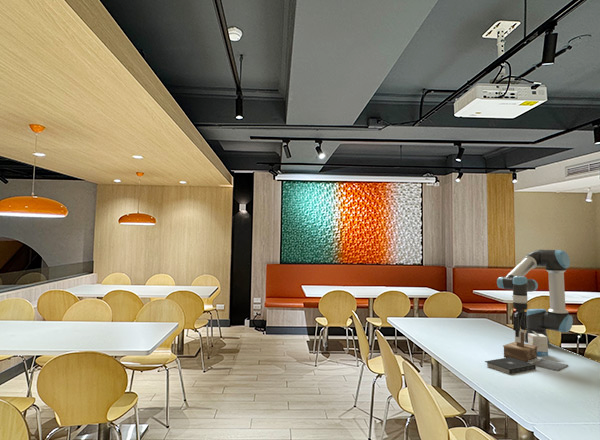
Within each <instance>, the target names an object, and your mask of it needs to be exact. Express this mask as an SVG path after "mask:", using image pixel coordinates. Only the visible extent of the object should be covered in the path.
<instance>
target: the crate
mask: <svg viewBox="0 0 600 440" xmlns="http://www.w3.org/2000/svg"><path fill="white" fill-rule="evenodd" d="M508 357H511V358H514V359H518V360H521V361H525V362H528V363H529V362H531V361H533V360H536V359H537V358H538V356H537V348H535V349H533V350H530V351H527V352H524V351H520V350H515V349H511V348H506V347H503V358H508Z"/></svg>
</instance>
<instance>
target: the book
mask: <svg viewBox="0 0 600 440" xmlns="http://www.w3.org/2000/svg"><path fill="white" fill-rule="evenodd" d="M484 363H486V365H487V367H488V368H492V369H494V370H497V371H501V372H503V373H506V374H509V375H515V374H520V373H524V372H529V371H533V370H537V369H536V368H537V366H535V364H532V363H530V362H529V361H528V362H525V361H521V360H518V359H514V358H511V357H508V358H505V357H501V358H497V359H491V360H485V361H484Z"/></svg>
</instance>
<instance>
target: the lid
mask: <svg viewBox="0 0 600 440" xmlns="http://www.w3.org/2000/svg"><path fill="white" fill-rule="evenodd" d="M502 347H503V348H504V347H506V348H511V349H515V350H520V351H524V352H527V351H530V350H533V349H535V348H538V346H534V345H529V344H528V343H525V341H524V332H521V343H518V342H515V341H513V342H510V343H506V344H505V345H504V344H503V345H502Z"/></svg>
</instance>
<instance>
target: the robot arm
mask: <svg viewBox="0 0 600 440" xmlns="http://www.w3.org/2000/svg"><path fill="white" fill-rule="evenodd" d="M570 265H571V259H570V256H569V254H568V252H567V251H565V250H561V249H535V250H533V251H531V252H529V253H527V254H525V256H523V257H522V259H521V261H520V263H517V265H516V266H515V267H514V268H513V269H512V270H510V272H508V273H507V274H506V275H505V276H499V277H498V278H497V279H496V284H497V287H498V289H502V290H503V289H504V290H512V295H511V296H512V308H513V309H515V312H513V313H512V314H513V323H512V324H513V327H512V329H513V331H514V333H515V335H514V336H515V337H514V342H518V343H521V332H524V343H526V344H528V333H531V334H535V333H534V332H536V333H537V334H543V335H545V336H546V337H547V340H548V346H549V345H550V339H549V336H548V333H547V330H550V331H554V332H559V333H568V332H570V330H571V329H572V327H573V323H574V320H573V319H574V318H573V316H572V315H571V314H569V311H568V310H567V308H566V293H565V292H566V291H565V290H566V289H565V274H564V273H566V271H567V269H568V268H570ZM537 267H538V268H539V267H544V268H545V271H546V272H547V273H548V293H549V308H548V309H546V308H528V293H529V292H531V293H532V292H534V291H537V290H538V287H539V283H538V282H537V281H536V280H535V279H533V278H527V274H528V273H529V272H530V271H531V270H534V269H536V268H537ZM533 331H534V332H533Z"/></svg>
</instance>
